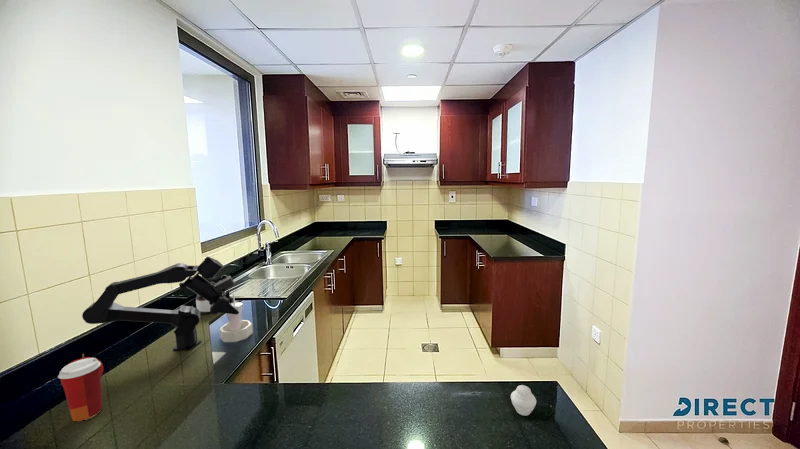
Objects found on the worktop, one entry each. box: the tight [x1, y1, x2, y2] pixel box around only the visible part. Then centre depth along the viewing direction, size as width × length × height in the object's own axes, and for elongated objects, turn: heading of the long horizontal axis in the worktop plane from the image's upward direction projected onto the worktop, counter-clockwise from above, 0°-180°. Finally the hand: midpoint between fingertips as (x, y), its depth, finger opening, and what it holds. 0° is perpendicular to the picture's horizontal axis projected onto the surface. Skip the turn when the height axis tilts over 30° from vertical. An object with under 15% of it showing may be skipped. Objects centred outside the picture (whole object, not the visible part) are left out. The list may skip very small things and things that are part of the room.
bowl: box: [219, 319, 253, 343], centre depth 125 cm, size 11×11×4 cm
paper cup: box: [57, 357, 103, 422], centre depth 82 cm, size 8×8×14 cm
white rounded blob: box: [510, 384, 537, 416], centre depth 81 cm, size 6×6×7 cm
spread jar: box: [195, 294, 212, 315], centre depth 151 cm, size 12×11×12 cm
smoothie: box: [226, 294, 244, 330], centre depth 123 cm, size 6×6×14 cm
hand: (238, 310), depth 124 cm, fingers closed on smoothie, 6 cm apart
